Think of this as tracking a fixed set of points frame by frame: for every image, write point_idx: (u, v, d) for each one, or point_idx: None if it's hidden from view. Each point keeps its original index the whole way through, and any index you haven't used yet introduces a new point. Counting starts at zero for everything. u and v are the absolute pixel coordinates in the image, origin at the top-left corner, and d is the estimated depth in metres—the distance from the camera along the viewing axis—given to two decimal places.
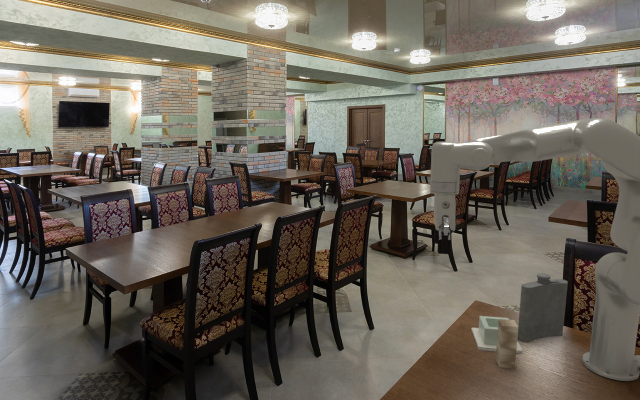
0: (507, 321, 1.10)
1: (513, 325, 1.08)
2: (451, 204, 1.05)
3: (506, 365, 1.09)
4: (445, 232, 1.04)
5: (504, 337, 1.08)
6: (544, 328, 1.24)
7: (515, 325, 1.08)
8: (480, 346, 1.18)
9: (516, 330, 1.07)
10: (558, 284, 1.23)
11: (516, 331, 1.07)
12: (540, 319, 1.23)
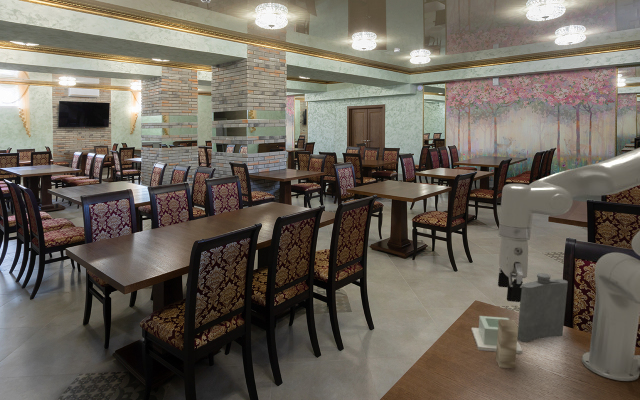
0: (507, 321, 1.11)
1: (513, 325, 1.08)
2: (524, 251, 1.01)
3: (506, 365, 1.09)
4: (518, 281, 0.99)
5: (504, 337, 1.08)
6: (544, 328, 1.24)
7: (515, 325, 1.08)
8: (480, 346, 1.18)
9: (516, 330, 1.07)
10: (558, 284, 1.23)
11: (516, 331, 1.07)
12: (540, 319, 1.23)
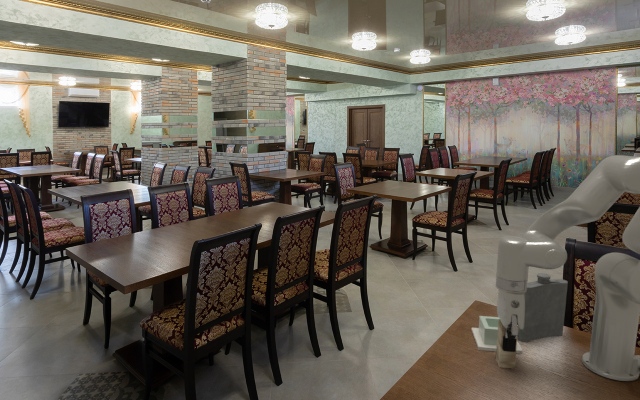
0: None
1: None
2: (521, 304, 1.03)
3: (506, 365, 1.09)
4: (513, 335, 1.04)
5: None
6: (544, 328, 1.24)
7: None
8: (480, 346, 1.18)
9: None
10: (558, 284, 1.23)
11: None
12: (540, 319, 1.23)
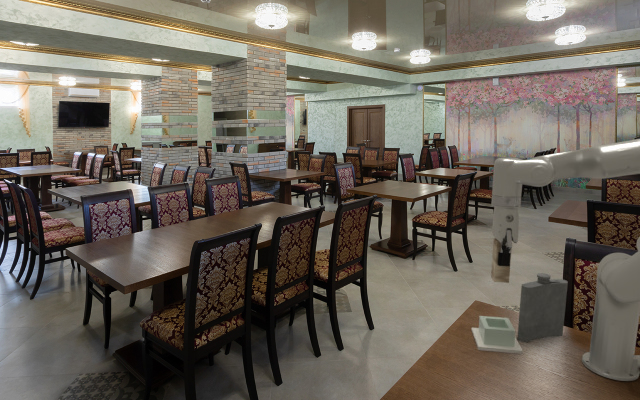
0: None
1: None
2: (515, 218, 1.11)
3: (501, 280, 1.17)
4: (507, 248, 1.11)
5: None
6: (544, 328, 1.24)
7: None
8: (480, 346, 1.18)
9: None
10: (558, 284, 1.23)
11: None
12: (540, 319, 1.23)
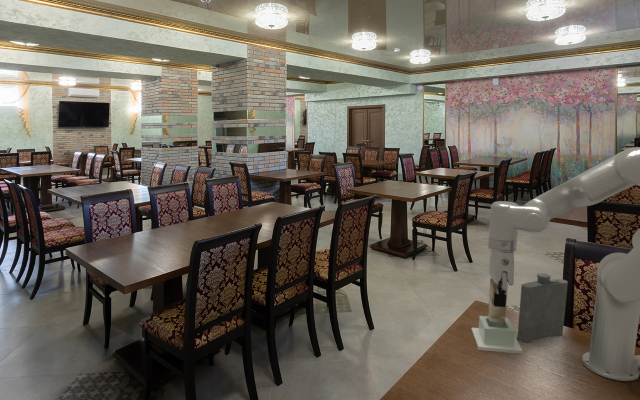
0: None
1: None
2: (510, 261, 1.14)
3: (497, 319, 1.20)
4: (503, 291, 1.15)
5: None
6: (544, 328, 1.24)
7: None
8: (480, 346, 1.18)
9: None
10: (558, 284, 1.23)
11: None
12: (540, 319, 1.23)
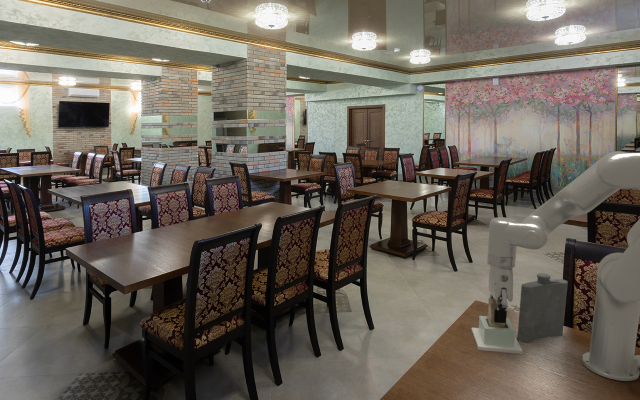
0: None
1: None
2: (509, 278, 1.14)
3: None
4: (503, 306, 1.14)
5: (493, 314, 1.20)
6: (544, 328, 1.24)
7: None
8: (480, 346, 1.18)
9: None
10: (558, 284, 1.23)
11: None
12: (540, 319, 1.23)
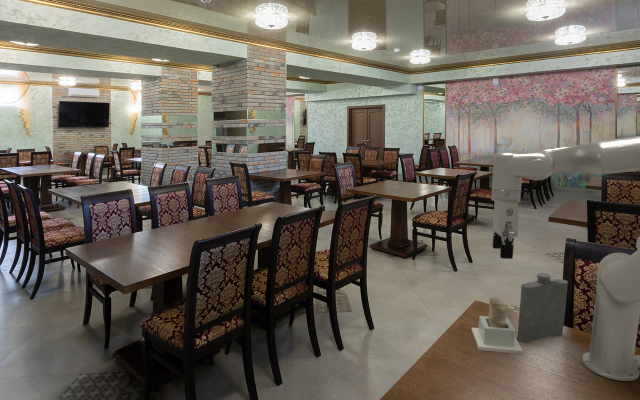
0: (497, 299, 1.22)
1: (502, 303, 1.19)
2: (514, 211, 1.11)
3: None
4: (510, 238, 1.09)
5: (494, 314, 1.20)
6: (544, 328, 1.24)
7: (504, 303, 1.19)
8: (480, 346, 1.18)
9: (505, 307, 1.19)
10: (558, 284, 1.23)
11: (505, 308, 1.19)
12: (540, 319, 1.23)
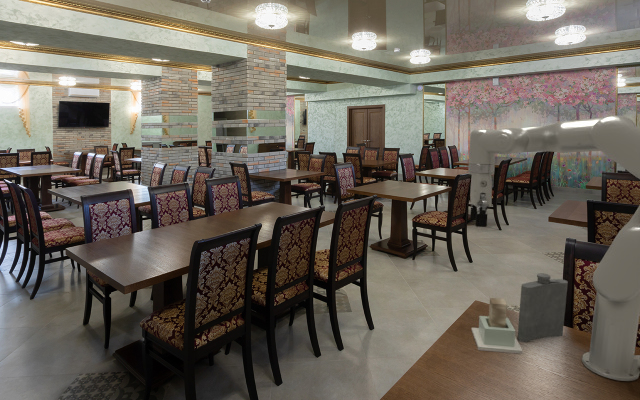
0: (497, 299, 1.22)
1: (502, 303, 1.19)
2: (488, 183, 1.22)
3: None
4: (483, 207, 1.20)
5: (494, 314, 1.20)
6: (544, 328, 1.24)
7: (504, 303, 1.19)
8: (480, 346, 1.18)
9: (505, 307, 1.19)
10: (558, 284, 1.23)
11: (505, 308, 1.19)
12: (540, 319, 1.23)
